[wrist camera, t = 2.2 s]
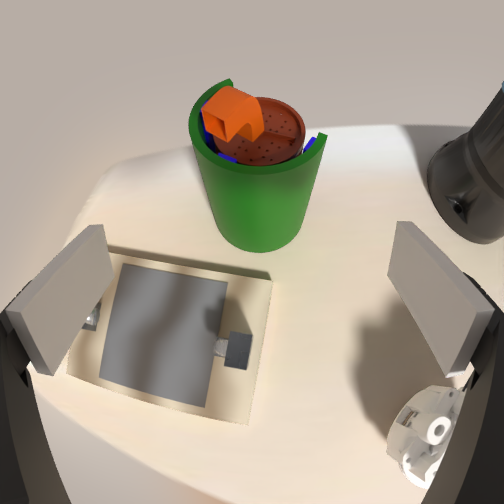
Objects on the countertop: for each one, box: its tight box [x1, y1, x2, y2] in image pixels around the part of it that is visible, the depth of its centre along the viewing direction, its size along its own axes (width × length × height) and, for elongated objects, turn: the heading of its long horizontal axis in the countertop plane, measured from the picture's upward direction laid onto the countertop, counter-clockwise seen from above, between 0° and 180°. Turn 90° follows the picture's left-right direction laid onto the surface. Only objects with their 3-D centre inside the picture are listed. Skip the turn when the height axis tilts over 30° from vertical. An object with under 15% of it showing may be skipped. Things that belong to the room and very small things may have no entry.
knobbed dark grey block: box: [81, 303, 101, 331], centre depth 30 cm, size 3×3×4 cm
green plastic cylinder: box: [189, 79, 328, 253], centre depth 27 cm, size 10×9×20 cm
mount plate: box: [66, 252, 273, 425], centre depth 32 cm, size 21×15×1 cm
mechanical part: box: [386, 385, 467, 489], centre depth 22 cm, size 11×12×12 cm
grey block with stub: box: [213, 331, 254, 370], centre depth 29 cm, size 3×3×4 cm
